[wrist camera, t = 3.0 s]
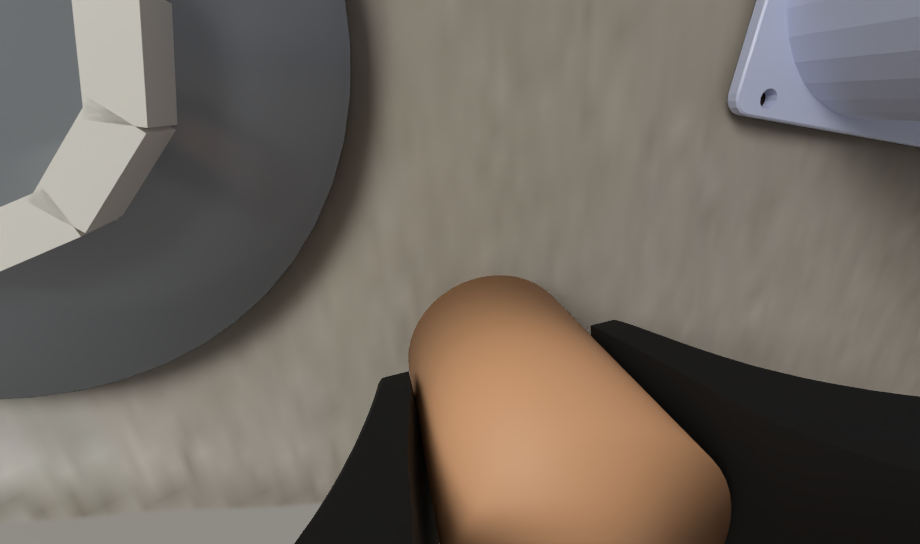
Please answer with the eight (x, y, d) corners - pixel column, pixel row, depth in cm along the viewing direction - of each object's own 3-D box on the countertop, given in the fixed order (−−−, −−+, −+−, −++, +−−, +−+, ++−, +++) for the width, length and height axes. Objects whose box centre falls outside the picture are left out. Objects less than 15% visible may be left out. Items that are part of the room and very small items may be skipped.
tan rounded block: (585, 281, 12) (772, 430, 7) (551, 422, 14) (682, 644, 8) (418, 269, 11) (473, 433, 6) (400, 423, 12) (429, 676, 7)
